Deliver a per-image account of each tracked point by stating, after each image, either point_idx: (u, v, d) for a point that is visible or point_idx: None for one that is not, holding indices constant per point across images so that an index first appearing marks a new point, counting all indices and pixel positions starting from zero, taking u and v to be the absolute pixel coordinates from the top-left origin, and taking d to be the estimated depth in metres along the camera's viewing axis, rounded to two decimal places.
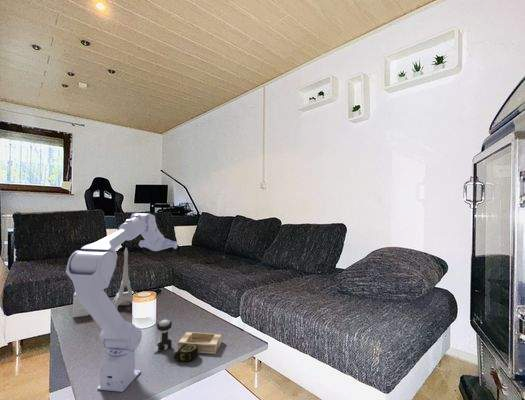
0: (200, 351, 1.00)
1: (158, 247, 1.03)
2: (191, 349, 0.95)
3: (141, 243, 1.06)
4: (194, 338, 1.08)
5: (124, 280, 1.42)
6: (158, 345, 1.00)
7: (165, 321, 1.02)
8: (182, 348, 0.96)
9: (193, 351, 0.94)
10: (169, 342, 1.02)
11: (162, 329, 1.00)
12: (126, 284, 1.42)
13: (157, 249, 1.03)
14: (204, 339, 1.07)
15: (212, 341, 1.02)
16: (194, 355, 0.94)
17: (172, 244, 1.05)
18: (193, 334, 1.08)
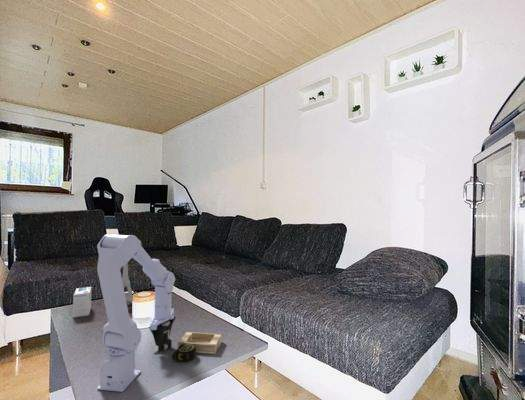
0: (200, 351, 1.00)
1: None
2: (189, 349, 0.95)
3: None
4: (194, 338, 1.08)
5: (124, 280, 1.42)
6: (158, 345, 1.00)
7: (165, 321, 1.01)
8: (180, 348, 0.96)
9: (191, 351, 0.94)
10: (169, 342, 1.02)
11: None
12: (126, 284, 1.42)
13: (154, 316, 1.01)
14: (204, 339, 1.07)
15: (212, 341, 1.02)
16: (192, 355, 0.94)
17: (154, 323, 0.96)
18: (193, 334, 1.08)
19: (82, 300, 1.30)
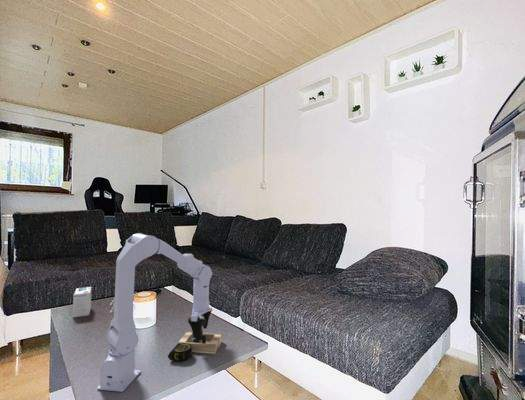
0: (200, 351, 1.00)
1: (193, 307, 1.03)
2: (185, 349, 0.95)
3: None
4: None
5: None
6: (194, 341, 1.03)
7: (200, 317, 1.04)
8: (176, 348, 0.96)
9: (187, 351, 0.95)
10: (203, 338, 1.05)
11: None
12: None
13: None
14: None
15: (212, 341, 1.02)
16: (188, 355, 0.95)
17: (194, 315, 0.98)
18: None
19: (82, 300, 1.30)
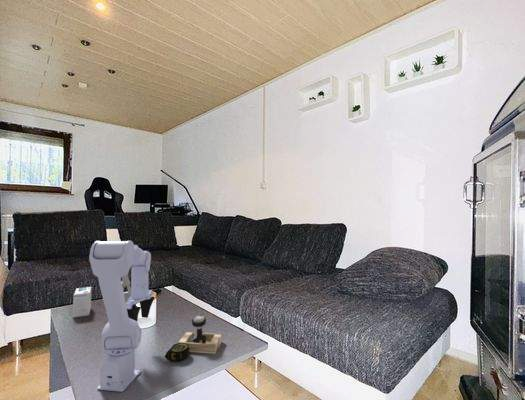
0: (200, 351, 1.00)
1: (131, 295, 1.00)
2: (182, 348, 0.96)
3: (148, 291, 1.07)
4: None
5: (124, 280, 1.42)
6: (194, 341, 1.03)
7: (200, 317, 1.04)
8: (173, 347, 0.96)
9: (184, 350, 0.95)
10: (203, 338, 1.05)
11: (198, 325, 1.02)
12: (126, 284, 1.42)
13: None
14: None
15: (212, 341, 1.02)
16: (185, 354, 0.95)
17: (129, 302, 0.95)
18: (193, 334, 1.08)
19: (82, 300, 1.30)
